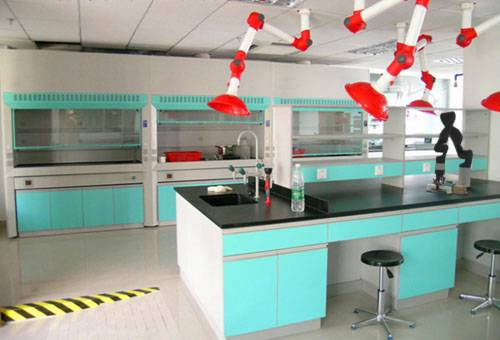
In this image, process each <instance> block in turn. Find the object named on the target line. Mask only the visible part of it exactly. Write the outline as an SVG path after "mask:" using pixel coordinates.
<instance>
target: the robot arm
mask: <svg viewBox="0 0 500 340" xmlns="http://www.w3.org/2000/svg"><path fill="white" fill-rule="evenodd" d="M439 117H440V118H439V119H440V122H441V123H442V125H443V126H444V127H443V128H442V130H440V133H439V135H438V139H437V141H436V143H435V144H434V146H433V151H434V152H435V153H437V154H439V153H440V155H436V156H435V164H434V175H435V177H434V178H433V179H432V180H433V182H434V185H436V190H435V191H438V190H441V189H439V185H440V186H442V184H444V182H446V176H445V175H446V174H445V173H446V159H447V153H448V151H449V145H448V144H447V143H448V142H449V138H450V140H451V142H452V144H453V147H454V150H455V152H456V155H457V157H458V159H461V160H464V161H463V162H460V163H459V165H458V179H457V185H462V186H466V188H470V187H471V168H472V163H473V158H474V157H473V156H474V153H473V150H472V149H470V148H463V146H462V142H463V140H464V137H463V134H462V132H461V130H460V129H459V128H458V127H456V126H454V125H455V123H456V122H455V121H456V119H457V114H456V112H455V111H454V110H448V111H443V112H441V113H440V114H439ZM435 182H436V183H435Z"/></svg>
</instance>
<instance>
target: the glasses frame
mask: <svg viewBox="0 0 500 340" xmlns="http://www.w3.org/2000/svg"><path fill="white" fill-rule="evenodd" d="M432 187H433V188H436V185H434V184H432V183H426V191H431V190H432V189H431V188H432ZM439 189H446V190H447V192H446V194H447V195H450V194H452V193H451V190H452V187H447V186H440V185H439Z"/></svg>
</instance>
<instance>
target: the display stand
mask: <svg viewBox="0 0 500 340" xmlns="http://www.w3.org/2000/svg"><path fill="white" fill-rule="evenodd" d="M435 183H436V182H435ZM431 184H434V181H433V182H431ZM442 186H447V187H452V190H451V194H456V195H466V194H468V192H467V187H466V186H462V185H458V184H457V183H455V182H454V181H453V180H449V179H448V180H447V179H445V181H444V184H442ZM431 190H433V191H438V192H445V193H447V190H446V189H441V190H436V188H433V187H431Z"/></svg>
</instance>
